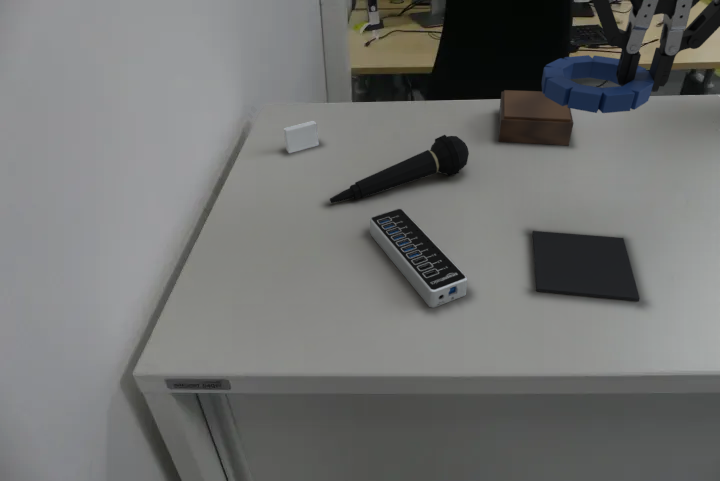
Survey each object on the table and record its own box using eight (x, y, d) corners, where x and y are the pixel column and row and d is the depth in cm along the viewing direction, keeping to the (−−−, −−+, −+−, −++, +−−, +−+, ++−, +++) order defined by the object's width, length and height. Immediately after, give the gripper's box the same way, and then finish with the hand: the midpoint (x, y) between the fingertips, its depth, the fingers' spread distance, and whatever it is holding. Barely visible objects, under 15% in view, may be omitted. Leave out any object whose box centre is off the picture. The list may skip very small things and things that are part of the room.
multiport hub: (401, 222, 69) (401, 206, 67) (467, 294, 58) (469, 278, 57) (368, 232, 68) (368, 217, 66) (431, 308, 57) (431, 292, 56)
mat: (622, 240, 64) (623, 237, 64) (638, 301, 57) (639, 298, 56) (532, 233, 66) (532, 230, 66) (536, 291, 58) (536, 288, 58)
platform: (563, 114, 89) (567, 91, 87) (568, 145, 82) (574, 120, 79) (499, 112, 91) (501, 88, 89) (498, 141, 84) (501, 117, 81)
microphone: (340, 229, 73) (473, 176, 77) (337, 203, 68) (479, 148, 72) (324, 199, 76) (453, 149, 80) (320, 172, 71) (457, 120, 75)
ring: (637, 73, 59) (642, 56, 58) (656, 116, 52) (662, 97, 50) (539, 69, 61) (542, 53, 60) (544, 110, 53) (547, 92, 52)
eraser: (319, 145, 85) (316, 123, 83) (289, 153, 84) (285, 131, 82) (315, 142, 86) (313, 120, 84) (286, 150, 85) (282, 128, 82)
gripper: (775, -127, 46) (704, 76, 57) (599, -123, 49) (562, 71, 59) (812, -115, 40) (725, 108, 51) (610, -112, 43) (567, 100, 54)
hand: (638, 87), depth 55 cm, fingers closed on ring, 2 cm apart
